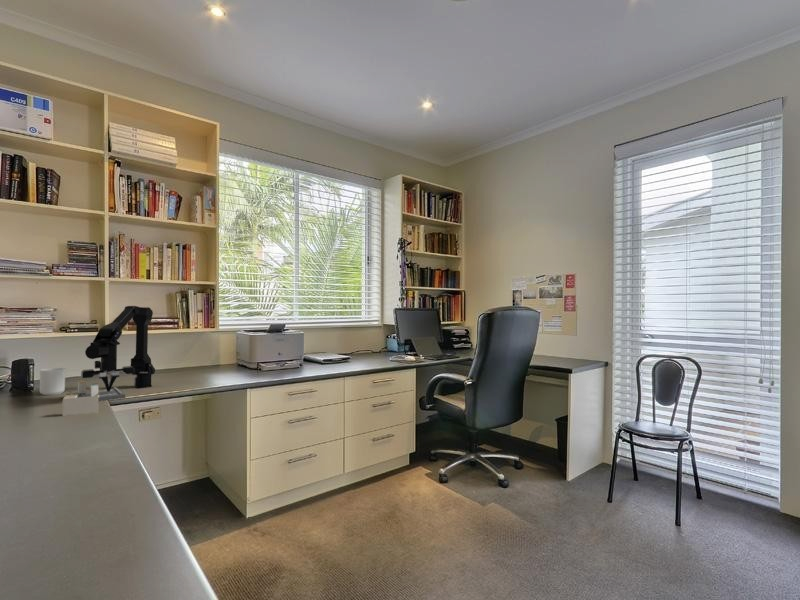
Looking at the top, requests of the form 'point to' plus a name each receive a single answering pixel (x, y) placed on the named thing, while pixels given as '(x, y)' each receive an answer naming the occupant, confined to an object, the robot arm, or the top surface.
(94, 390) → the fader teal
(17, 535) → the top surface
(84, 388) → the grey rectangular block
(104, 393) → the console
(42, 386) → the mug
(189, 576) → the top surface
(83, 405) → the model
